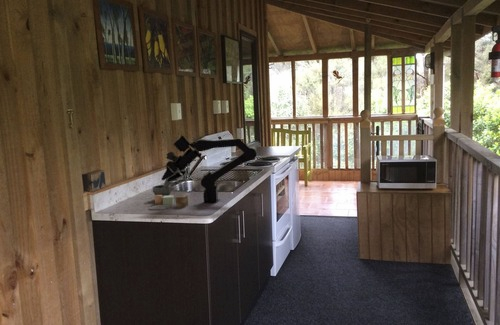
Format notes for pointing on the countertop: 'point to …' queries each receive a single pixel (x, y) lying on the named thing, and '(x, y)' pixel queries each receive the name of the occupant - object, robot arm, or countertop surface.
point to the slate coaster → (159, 207)
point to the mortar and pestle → (162, 189)
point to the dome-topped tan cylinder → (158, 199)
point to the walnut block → (182, 201)
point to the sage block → (168, 200)
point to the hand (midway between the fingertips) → (164, 180)
